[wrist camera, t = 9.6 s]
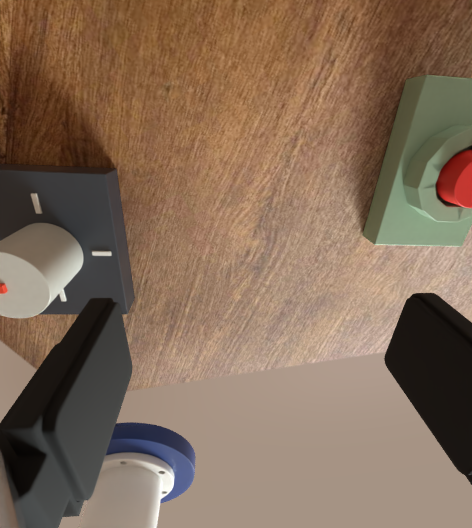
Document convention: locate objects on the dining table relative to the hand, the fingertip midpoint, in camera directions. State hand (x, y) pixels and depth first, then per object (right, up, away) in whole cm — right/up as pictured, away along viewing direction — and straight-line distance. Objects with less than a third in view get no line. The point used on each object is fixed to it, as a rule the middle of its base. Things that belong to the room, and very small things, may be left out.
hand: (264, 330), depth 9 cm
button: (+15, +8, +11) cm, 20 cm away
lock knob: (-15, +3, +12) cm, 20 cm away
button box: (+15, +10, +14) cm, 23 cm away
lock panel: (-15, +4, +14) cm, 22 cm away
